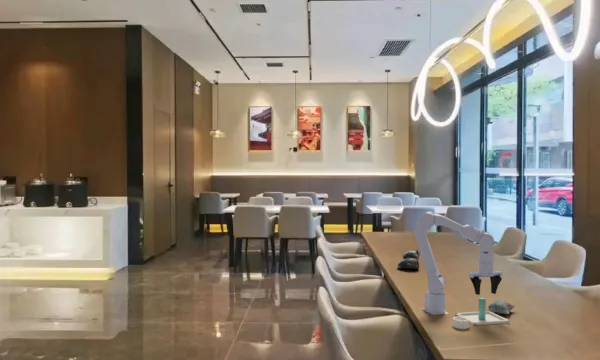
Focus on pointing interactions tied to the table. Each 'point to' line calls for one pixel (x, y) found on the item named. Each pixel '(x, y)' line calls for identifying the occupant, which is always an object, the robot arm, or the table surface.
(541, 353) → the table surface
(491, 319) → the tray
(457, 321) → the bowl
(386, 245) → the table surface
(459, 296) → the table surface
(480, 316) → the dowel
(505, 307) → the packaged food
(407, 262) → the grey stacked sacks
